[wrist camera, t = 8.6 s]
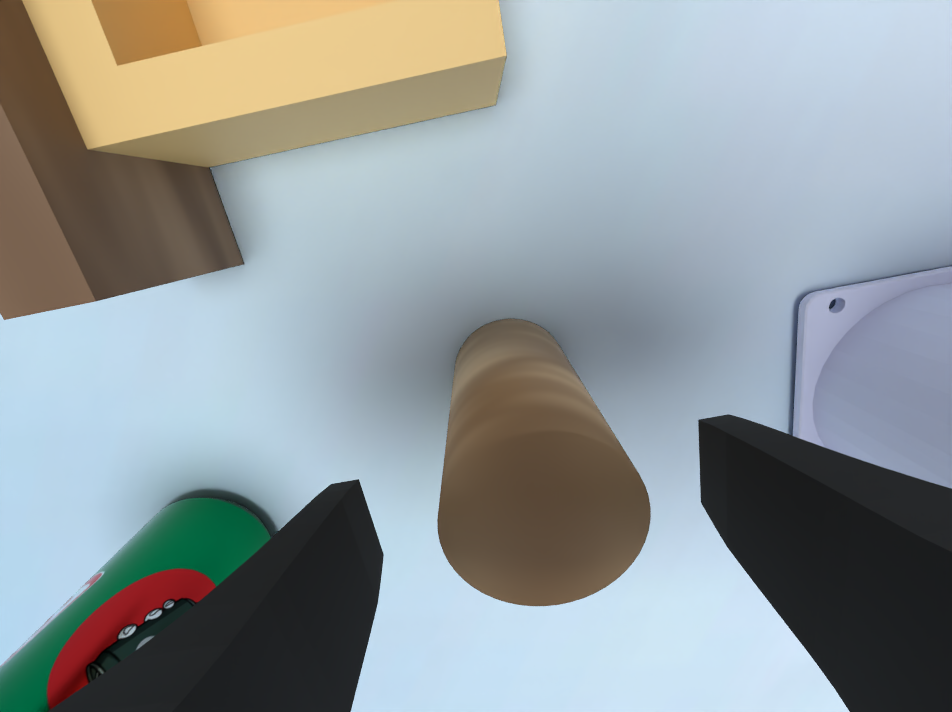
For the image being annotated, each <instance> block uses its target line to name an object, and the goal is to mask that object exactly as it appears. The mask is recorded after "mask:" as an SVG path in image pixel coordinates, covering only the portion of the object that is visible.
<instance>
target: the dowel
mask: <svg viewBox="0 0 952 712" xmlns="http://www.w3.org/2000/svg"><path fill="white" fill-rule="evenodd" d="M649 525H650V502H649V496H648V493H647V490H646V487H645V485H644V483H643V481H642V479H641V477H640V475H639V473H638V472H637V470H636V469H635V467H634V465H633V464H632V462H631V461H630V459H629V457H628V456H627V454H626V452H625V451H624V449H623V448H622V446H621V444H620V443H619V441H618V440H617V438H616V436H615V435H614V433H613V432H612V430H611V428H610V427H609V425H608V423H607V422H606V420H605V419H604V417H603V415H602V414H601V412H600V411H599V409H598V407H597V406H596V404H595V403H594V401H593V399H592V398H591V396H590V395H589V393H588V391H587V390H586V388H585V386H584V385H583V383H582V382H581V380H580V378H579V377H578V375H577V374H576V372H575V370H574V369H573V367H572V366H571V364H570V362H569V361H568V359H567V357H566V356H565V354H564V353H563V351H562V349H561V348H560V346H559V345H558V343H557V342H556V340H555V339H554V338H553V337H552V336H551V335H550V333H549V332H547V331H546V330H545V329H543V328H542V327H540V326H538V325H537V324H534V323H532V322H529V321H525V320H520V319H502V320H497V321H493V322H491V323H488V324H486V325H484V326H482V327H480V328H479V329H477V330H476V331H475V332H473V333H472V334H471V335H470V336H469V337H468V338H467V340H466V341H465V342H464V343H463V345H462V347H461V348H460V350H459V353H458V355H457V358H456V362H455V369H454V378H453V387H452V396H451V405H450V414H449V422H448V431H447V440H446V449H445V458H444V467H443V475H442V484H441V493H440V502H439V511H438V535H439V540H440V544H441V547H442V549H443V552H444V554H445V556H446V558H447V560H448V562H449V563H450V565H451V566H452V567H453V569H454V570H455V571H456V572H457V573H458V574H459V575H460V576H461V577H462V578H463V579H464V580H465V581H466V582H467V583H469V584H470V585H471V586H472V587H474V588H475V589H477V590H479V591H480V592H482V593H484V594H486V595H488V596H491V597H493V598H495V599H498V600H501V601H505V602H508V603H513V604H518V605H527V606H550V605H559V604H563V603H568V602H572V601H576V600H579V599H582V598H585V597H587V596H589V595H592V594H594V593H596V592H598V591H599V590H601V589H603V588H605V587H606V586H608V585H609V584H611V583H612V582H614V581H615V580H616V579H617V578H618V577H620V576H621V575H622V574H623V573H624V572H625V571H626V570H627V569H628V568H629V567H630V565H631V564H632V563H633V562H634V560H635V559H636V557H637V556H638V554H639V553H640V551H641V549H642V547H643V545H644V543H645V540H646V537H647V534H648V531H649Z"/></svg>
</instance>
